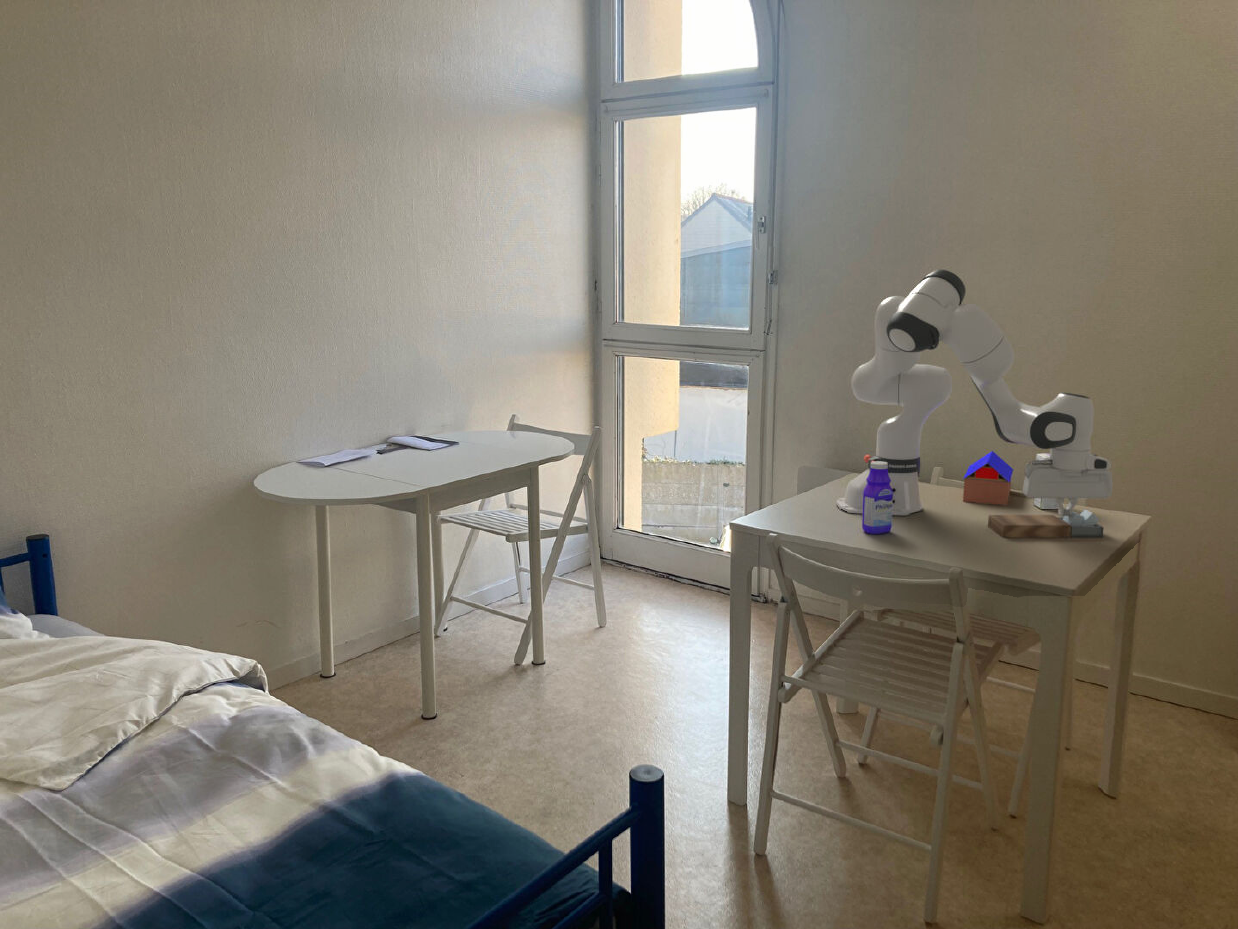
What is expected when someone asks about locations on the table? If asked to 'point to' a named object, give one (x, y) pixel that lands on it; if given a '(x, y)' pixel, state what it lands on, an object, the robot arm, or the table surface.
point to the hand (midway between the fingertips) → (1064, 515)
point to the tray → (1086, 530)
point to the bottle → (877, 500)
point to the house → (988, 481)
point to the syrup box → (1044, 502)
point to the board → (1029, 526)
